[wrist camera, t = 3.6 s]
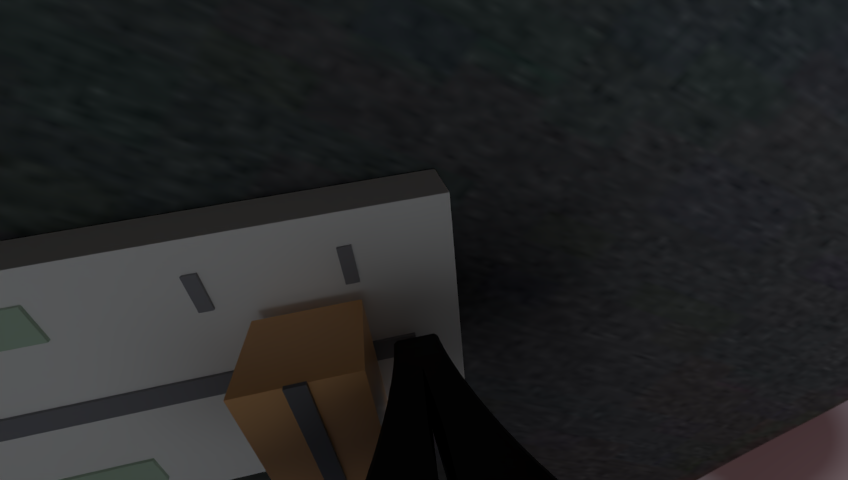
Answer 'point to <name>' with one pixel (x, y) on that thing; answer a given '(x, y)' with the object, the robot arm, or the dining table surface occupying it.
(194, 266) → the fader console
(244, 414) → the fader knob
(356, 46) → the dining table surface
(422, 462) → the robot arm
